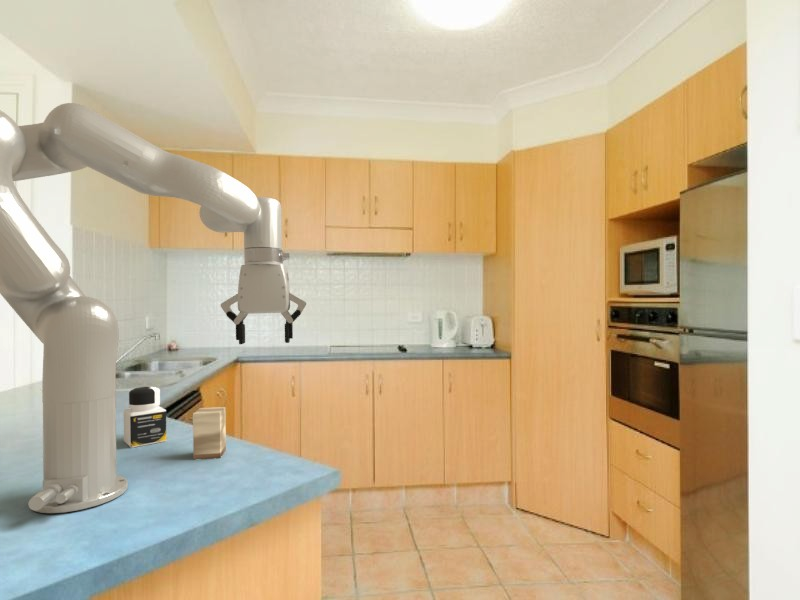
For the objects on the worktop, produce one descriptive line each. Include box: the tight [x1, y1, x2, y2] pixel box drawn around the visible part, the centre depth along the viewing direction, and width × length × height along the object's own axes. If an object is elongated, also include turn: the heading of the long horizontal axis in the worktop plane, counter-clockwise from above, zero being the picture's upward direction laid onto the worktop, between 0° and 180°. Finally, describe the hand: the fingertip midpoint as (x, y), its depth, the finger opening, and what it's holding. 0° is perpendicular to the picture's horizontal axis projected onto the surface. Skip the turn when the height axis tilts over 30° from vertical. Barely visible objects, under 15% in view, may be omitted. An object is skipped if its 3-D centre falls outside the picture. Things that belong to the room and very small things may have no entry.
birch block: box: [192, 406, 227, 461], centre depth 93 cm, size 5×5×9 cm
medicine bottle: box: [123, 386, 167, 449], centre depth 104 cm, size 7×7×12 cm
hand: (264, 342), depth 95 cm, fingers open, 8 cm apart
